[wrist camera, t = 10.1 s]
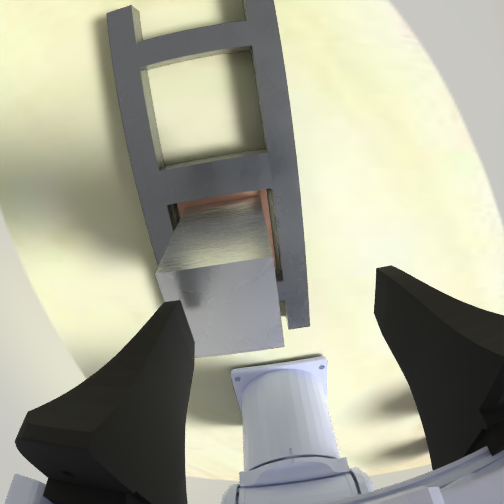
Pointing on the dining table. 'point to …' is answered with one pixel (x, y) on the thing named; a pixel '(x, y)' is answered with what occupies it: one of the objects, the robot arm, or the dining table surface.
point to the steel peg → (224, 277)
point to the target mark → (262, 194)
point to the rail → (220, 167)
